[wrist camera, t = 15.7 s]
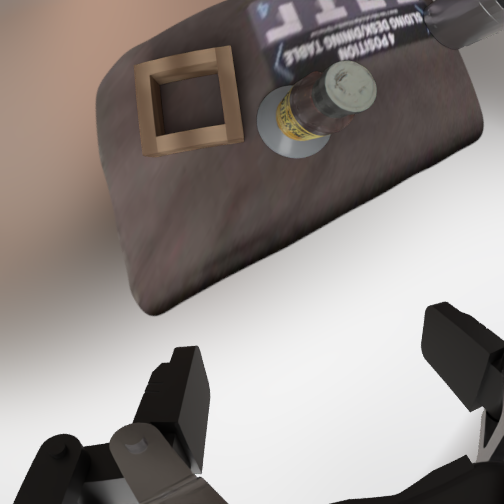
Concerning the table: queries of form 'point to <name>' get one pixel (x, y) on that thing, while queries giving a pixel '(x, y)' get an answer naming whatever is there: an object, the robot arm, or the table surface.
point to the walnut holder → (181, 69)
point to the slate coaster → (274, 134)
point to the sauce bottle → (326, 101)
